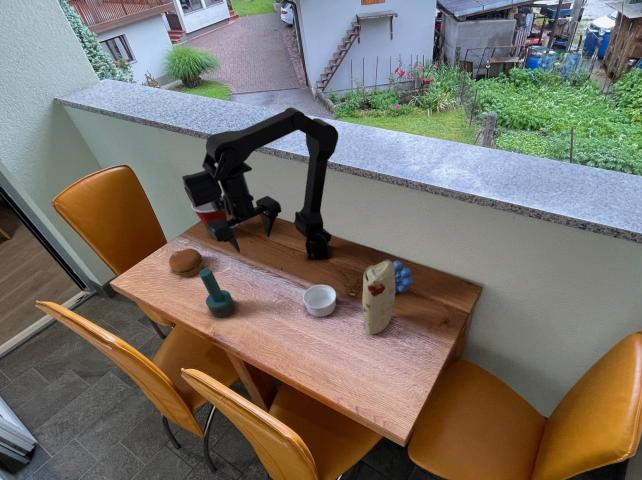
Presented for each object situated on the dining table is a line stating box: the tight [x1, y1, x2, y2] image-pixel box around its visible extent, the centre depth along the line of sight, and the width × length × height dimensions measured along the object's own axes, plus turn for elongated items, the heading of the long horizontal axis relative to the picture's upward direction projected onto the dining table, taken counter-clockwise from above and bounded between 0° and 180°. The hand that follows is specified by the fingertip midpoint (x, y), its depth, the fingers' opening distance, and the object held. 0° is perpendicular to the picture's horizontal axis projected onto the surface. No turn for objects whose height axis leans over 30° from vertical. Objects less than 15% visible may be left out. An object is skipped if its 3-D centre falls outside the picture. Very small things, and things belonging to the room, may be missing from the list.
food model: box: [361, 260, 396, 336], centre depth 83 cm, size 10×7×20 cm
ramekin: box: [302, 284, 337, 318], centre depth 94 cm, size 9×9×4 cm
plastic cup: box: [190, 202, 228, 228], centre depth 115 cm, size 11×11×12 cm
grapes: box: [382, 258, 414, 294], centre depth 95 cm, size 12×7×12 cm, turn 59°
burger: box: [168, 248, 204, 278], centre depth 106 cm, size 10×9×5 cm
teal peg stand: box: [198, 267, 236, 319], centre depth 90 cm, size 6×6×14 cm
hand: (253, 244), depth 94 cm, fingers open, 9 cm apart
